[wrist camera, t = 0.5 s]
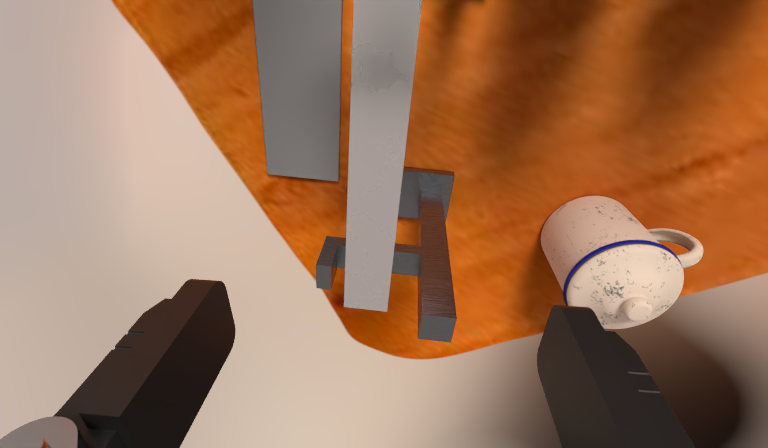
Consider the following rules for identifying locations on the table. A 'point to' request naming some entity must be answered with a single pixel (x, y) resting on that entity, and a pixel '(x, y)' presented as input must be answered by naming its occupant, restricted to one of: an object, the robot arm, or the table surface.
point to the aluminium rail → (377, 143)
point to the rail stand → (415, 251)
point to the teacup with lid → (615, 261)
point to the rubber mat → (300, 85)
